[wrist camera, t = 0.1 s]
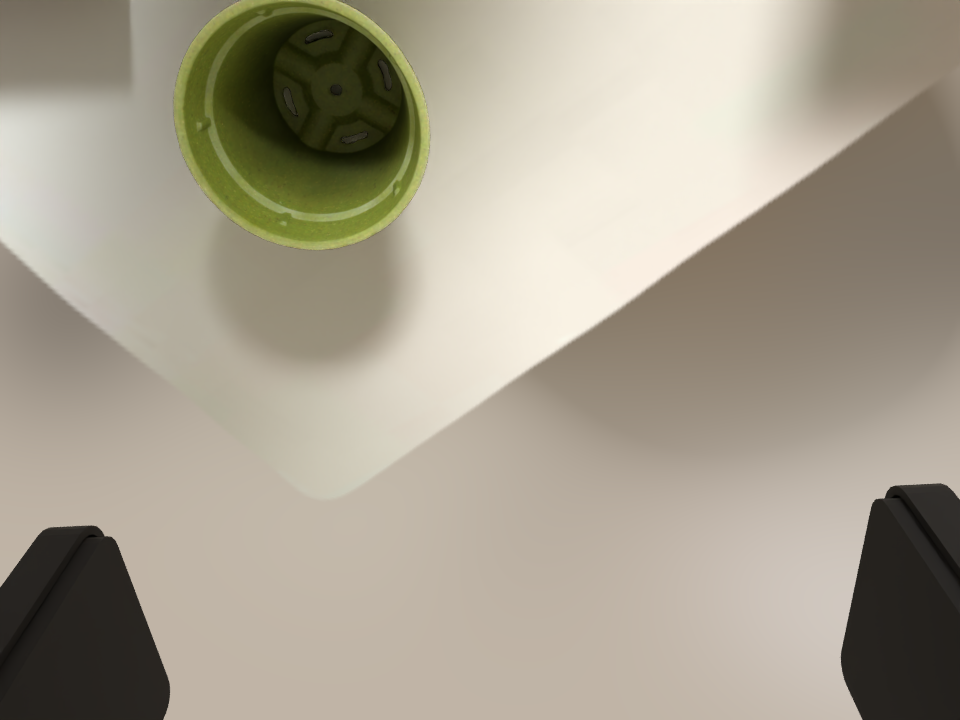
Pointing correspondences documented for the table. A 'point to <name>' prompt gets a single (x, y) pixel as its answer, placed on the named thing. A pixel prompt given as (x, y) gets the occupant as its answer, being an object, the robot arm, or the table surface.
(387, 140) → the plant pot
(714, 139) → the table surface
